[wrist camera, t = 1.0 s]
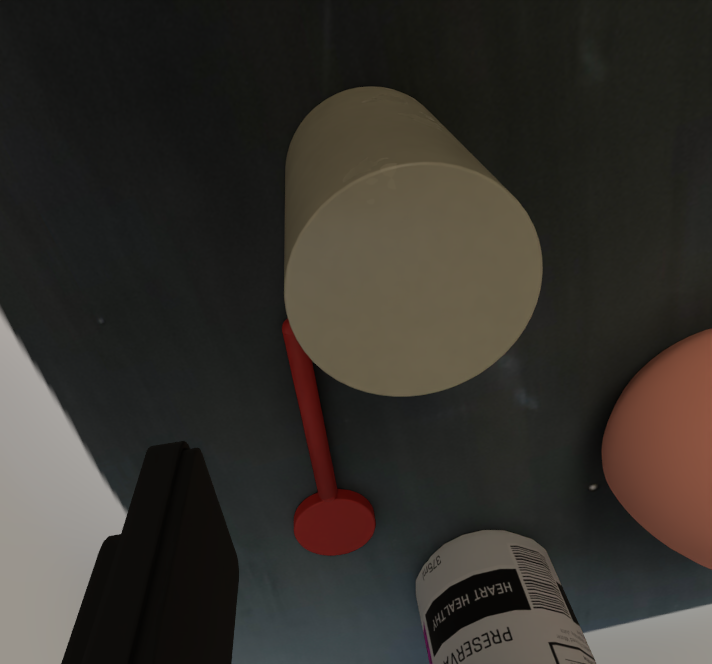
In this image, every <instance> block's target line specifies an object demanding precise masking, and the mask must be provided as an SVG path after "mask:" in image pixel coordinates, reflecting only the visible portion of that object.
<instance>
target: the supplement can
mask: <svg viewBox="0 0 712 664" xmlns="http://www.w3.org/2000/svg"><path fill="white" fill-rule="evenodd" d="M416 599H417V604H418V608H419V613H420V618H421V623H422V628H423V633H424V638H425V643H426V648H427V652H428V657H429V662H430V664H596V662H595V659H594V657H593V655H592V653H591V650H590V648H589V646H588V644H587V642H586V639H585V637H584V635H583V632H582V630H581V628H580V626H579V623H578V621H577V619H576V617H575V614H574V612H573V610H572V608H571V605H570V603H569V601H568V599H567V596H566V594H565V592H564V590H563V587H562V585H561V583H560V581H559V578H558V576H557V574H556V572H555V569H554V567H553V565H552V563H551V560H550V558H549V556H548V554H547V551H546V550H545V549H544V548H543V547H542V546H540V545H539V544H538V543H537V542H535V541H534V540H533V539H531V538H527V537H524V536H521V535H518V534H515V533H512V532H508V531H505V530H481V531H477V532H473V533H469V534H465V535H461V536H460V537H458V538H456V539H454V540H452V541H450V542H448V543H446V544H444V545H443V546H442V547H440V548H439V549H438V550H437V551H436V552H435V553H434V554H433V555H432V556H431V557H430V558H429V560H428V561H427V562H426V563H425V564H424V566H423V568H422V569H421V571H420V573H419V575H418V577H417V579H416Z"/></svg>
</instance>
